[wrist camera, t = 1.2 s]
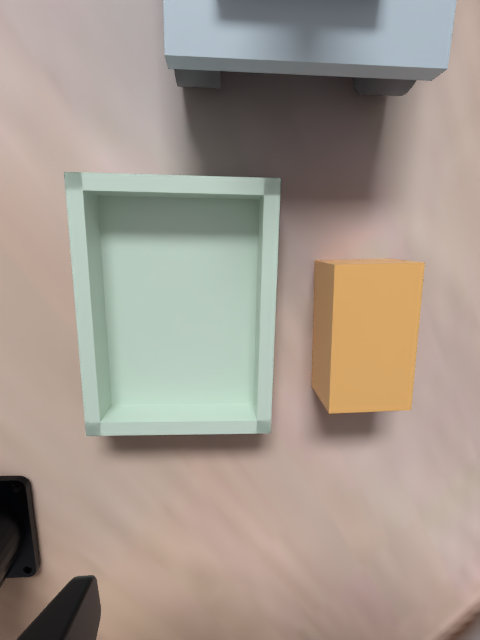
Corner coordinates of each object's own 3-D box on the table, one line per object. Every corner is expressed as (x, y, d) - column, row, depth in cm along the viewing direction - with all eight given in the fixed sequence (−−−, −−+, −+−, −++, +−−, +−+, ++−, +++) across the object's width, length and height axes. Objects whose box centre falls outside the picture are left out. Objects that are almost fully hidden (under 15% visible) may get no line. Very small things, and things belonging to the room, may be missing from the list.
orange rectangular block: (379, 381, 21) (410, 409, 17) (310, 384, 20) (328, 413, 17) (388, 258, 19) (424, 262, 16) (313, 260, 19) (334, 264, 16)
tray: (264, 410, 20) (270, 433, 18) (102, 411, 20) (86, 435, 17) (272, 186, 18) (280, 177, 15) (85, 181, 17) (64, 171, 15)
